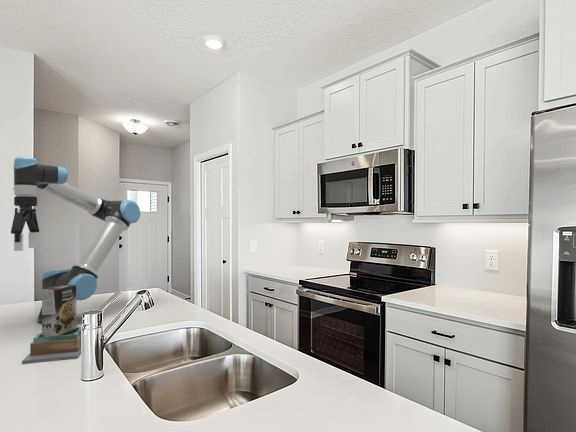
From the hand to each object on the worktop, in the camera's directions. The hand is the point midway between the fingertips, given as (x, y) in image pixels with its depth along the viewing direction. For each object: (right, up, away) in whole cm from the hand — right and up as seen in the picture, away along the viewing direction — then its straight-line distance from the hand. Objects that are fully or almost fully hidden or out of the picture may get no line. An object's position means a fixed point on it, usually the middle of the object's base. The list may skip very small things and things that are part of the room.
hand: (26, 249), depth 146 cm
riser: (+24, -35, -16) cm, 45 cm away
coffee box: (+24, -28, -16) cm, 40 cm away
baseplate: (+24, -35, -16) cm, 45 cm away
